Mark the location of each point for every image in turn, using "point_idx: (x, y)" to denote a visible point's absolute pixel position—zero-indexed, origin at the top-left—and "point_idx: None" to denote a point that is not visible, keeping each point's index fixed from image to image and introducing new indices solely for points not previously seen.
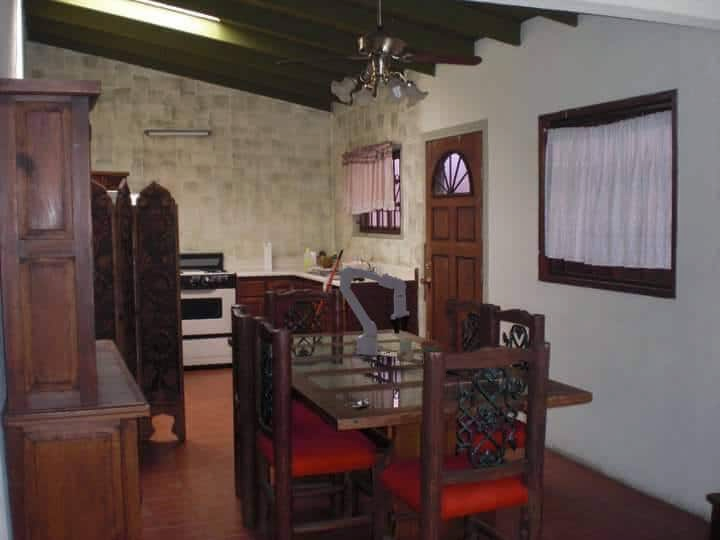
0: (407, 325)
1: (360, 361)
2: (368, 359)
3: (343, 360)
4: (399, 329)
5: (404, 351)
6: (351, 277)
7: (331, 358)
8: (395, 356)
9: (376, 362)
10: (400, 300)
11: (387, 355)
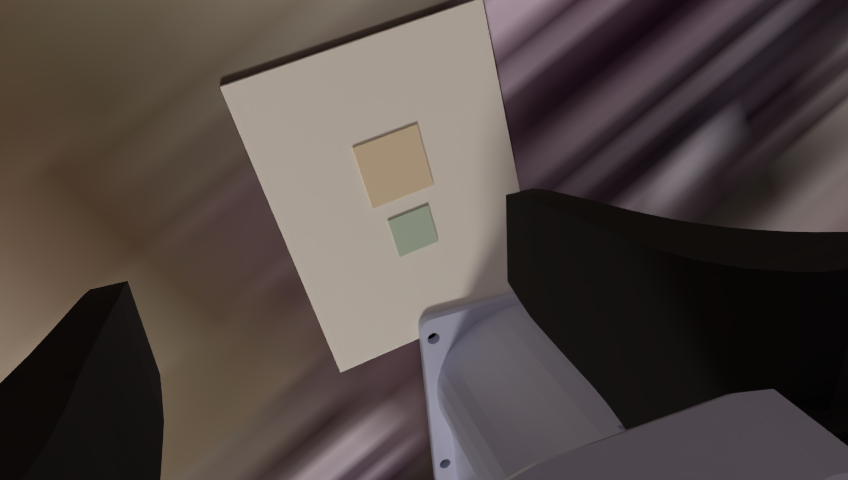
0: (52, 358)
1: (824, 185)
2: (730, 193)
3: None
4: (569, 210)
5: None
6: None
7: None
8: (490, 54)
9: (832, 25)
10: None
11: (501, 167)
